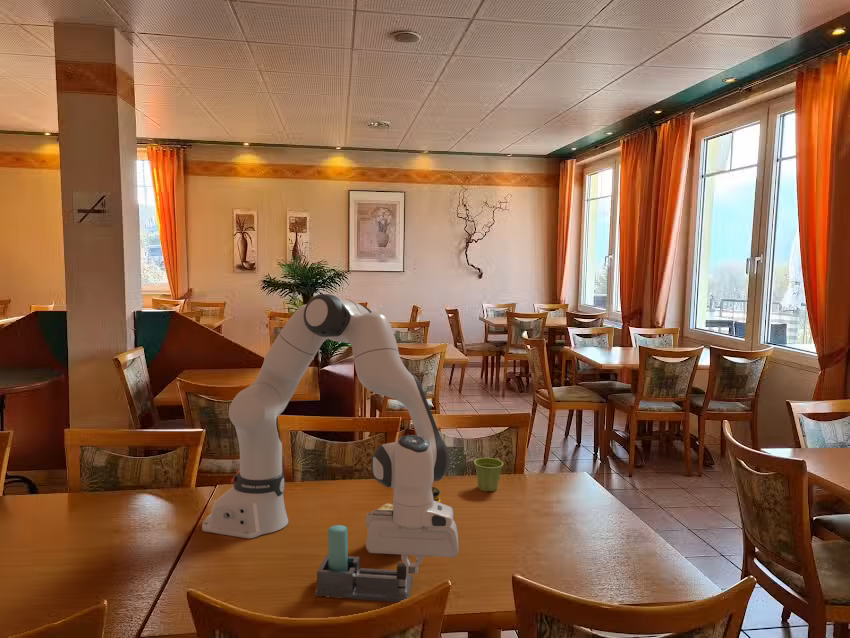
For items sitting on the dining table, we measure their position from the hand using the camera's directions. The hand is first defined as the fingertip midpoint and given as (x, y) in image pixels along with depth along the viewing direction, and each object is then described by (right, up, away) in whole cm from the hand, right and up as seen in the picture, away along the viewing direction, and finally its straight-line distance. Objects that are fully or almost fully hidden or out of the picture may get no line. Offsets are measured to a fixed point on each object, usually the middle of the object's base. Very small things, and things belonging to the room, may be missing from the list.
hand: (411, 572), depth 136 cm
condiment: (+3, -2, +29) cm, 29 cm away
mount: (-10, -4, +1) cm, 11 cm away
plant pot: (+23, +1, +62) cm, 66 cm away
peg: (-16, -3, +2) cm, 17 cm away
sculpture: (-6, -2, +21) cm, 22 cm away
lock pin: (-7, -3, +1) cm, 8 cm away
